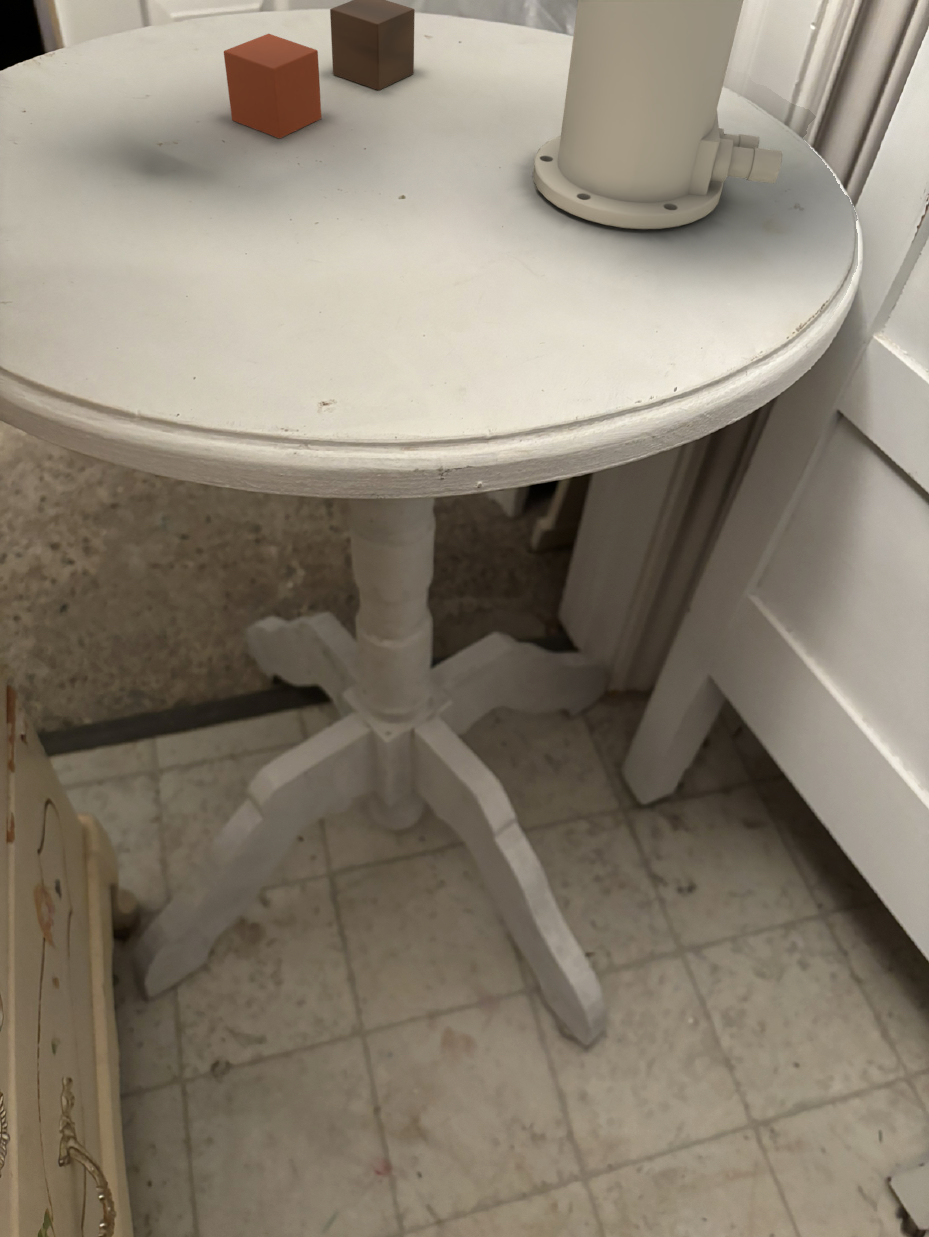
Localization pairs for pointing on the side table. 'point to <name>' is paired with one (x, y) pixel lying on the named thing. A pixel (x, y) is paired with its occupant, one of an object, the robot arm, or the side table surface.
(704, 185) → the robot arm
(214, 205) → the side table surface
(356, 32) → the walnut block
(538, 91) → the side table surface
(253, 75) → the terracotta block
